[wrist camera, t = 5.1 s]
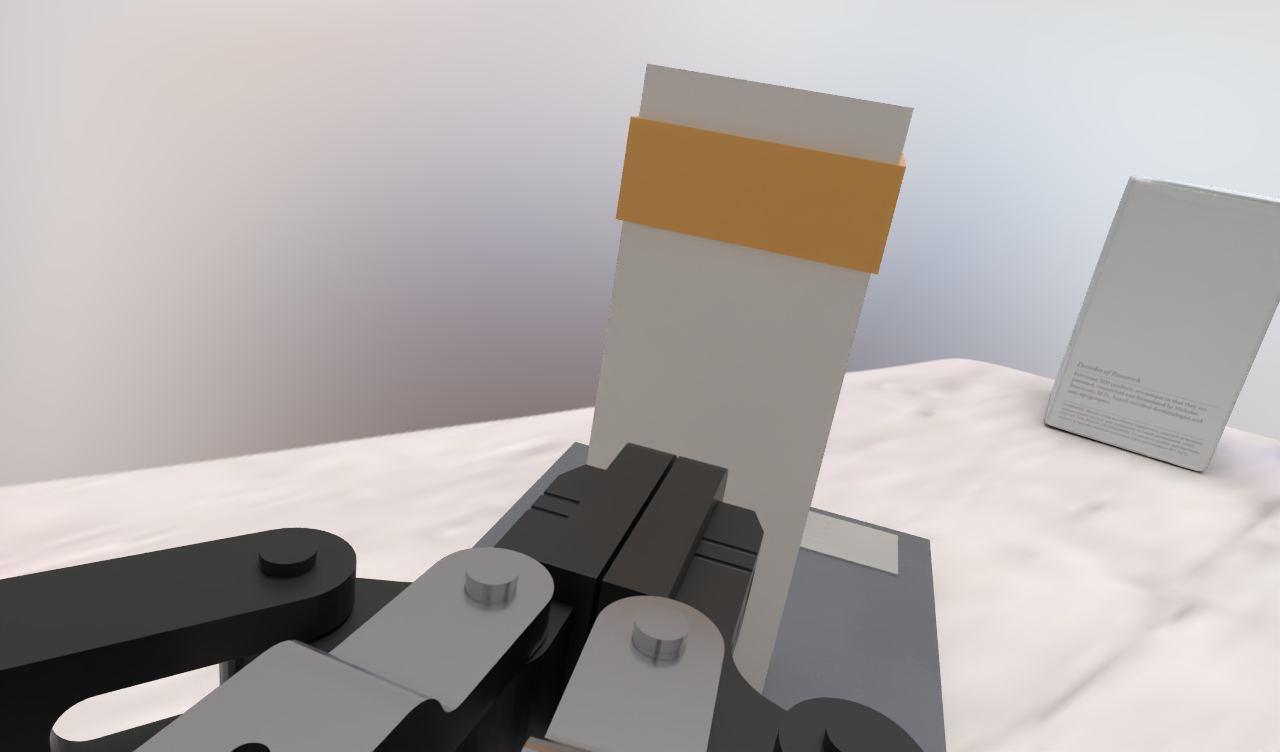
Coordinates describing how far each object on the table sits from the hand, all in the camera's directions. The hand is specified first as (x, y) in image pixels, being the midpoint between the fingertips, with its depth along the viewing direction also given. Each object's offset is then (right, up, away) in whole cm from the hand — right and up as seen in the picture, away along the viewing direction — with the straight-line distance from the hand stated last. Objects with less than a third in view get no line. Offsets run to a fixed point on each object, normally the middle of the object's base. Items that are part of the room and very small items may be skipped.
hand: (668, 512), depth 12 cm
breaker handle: (0, -4, +6) cm, 7 cm away
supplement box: (+25, -1, +32) cm, 40 cm away
